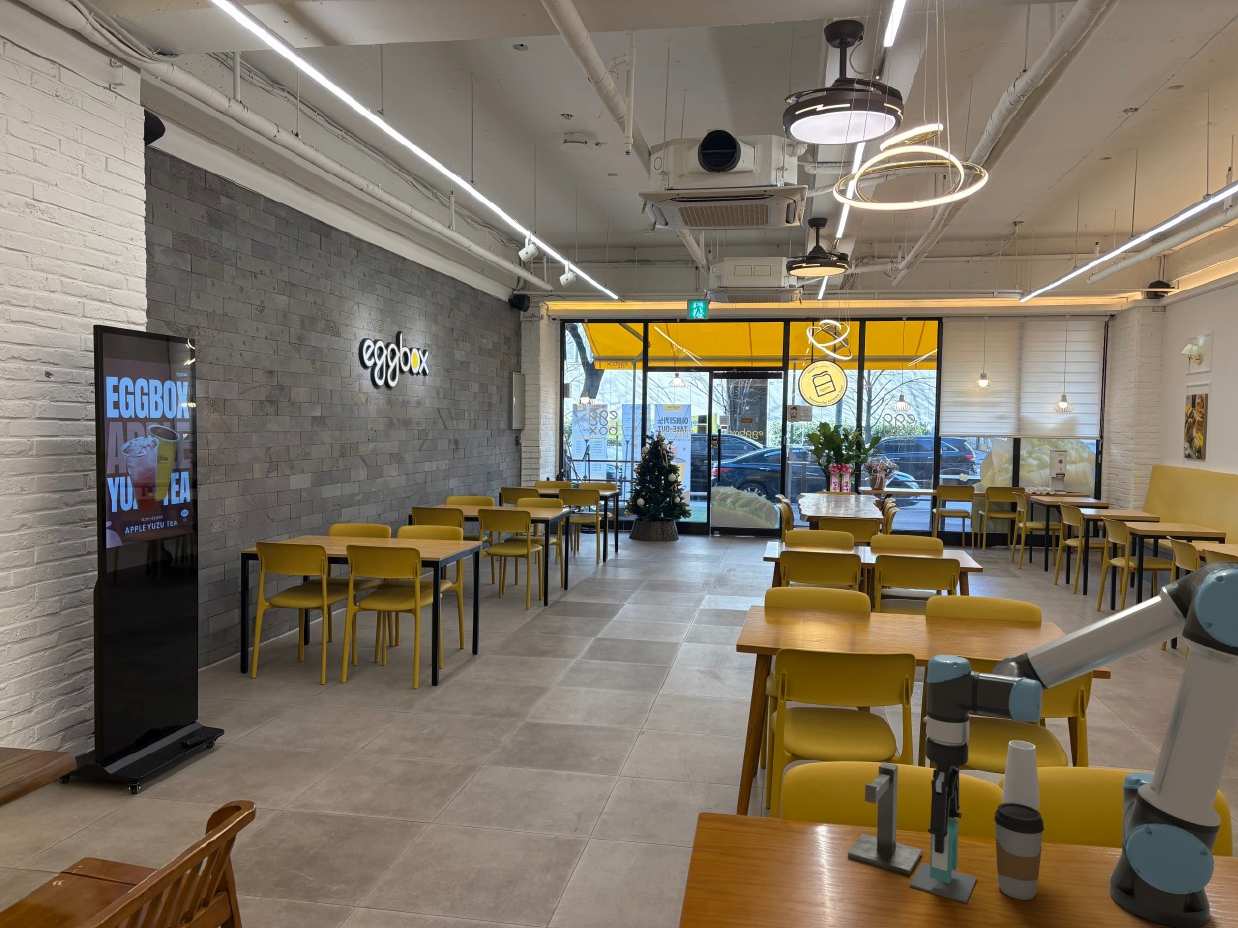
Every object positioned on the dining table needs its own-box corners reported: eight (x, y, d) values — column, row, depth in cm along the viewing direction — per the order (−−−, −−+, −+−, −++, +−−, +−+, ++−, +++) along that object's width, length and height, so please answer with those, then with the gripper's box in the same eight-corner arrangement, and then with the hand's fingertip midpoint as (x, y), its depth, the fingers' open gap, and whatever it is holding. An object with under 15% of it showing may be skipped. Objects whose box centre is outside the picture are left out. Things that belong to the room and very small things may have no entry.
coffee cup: (1048, 906, 146) (1050, 823, 145) (998, 900, 147) (1001, 818, 147) (1034, 882, 154) (1036, 804, 154) (987, 876, 155) (989, 799, 155)
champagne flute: (1029, 877, 156) (1032, 753, 155) (994, 863, 161) (997, 743, 160) (1043, 865, 160) (1046, 745, 160) (1009, 852, 165) (1012, 736, 165)
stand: (921, 854, 164) (923, 765, 163) (900, 890, 150) (903, 793, 150) (862, 837, 170) (864, 752, 170) (837, 871, 157) (839, 778, 156)
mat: (976, 879, 154) (976, 877, 154) (966, 903, 146) (966, 901, 146) (922, 863, 160) (922, 861, 160) (909, 886, 152) (909, 884, 152)
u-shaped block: (938, 861, 157) (939, 815, 157) (957, 867, 155) (958, 820, 155) (929, 877, 151) (931, 829, 151) (949, 883, 149) (950, 834, 149)
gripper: (937, 720, 163) (935, 833, 163) (913, 750, 146) (910, 875, 147) (977, 728, 159) (975, 843, 159) (957, 759, 142) (954, 888, 142)
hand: (944, 859), depth 153 cm, fingers closed on u-shaped block, 7 cm apart
